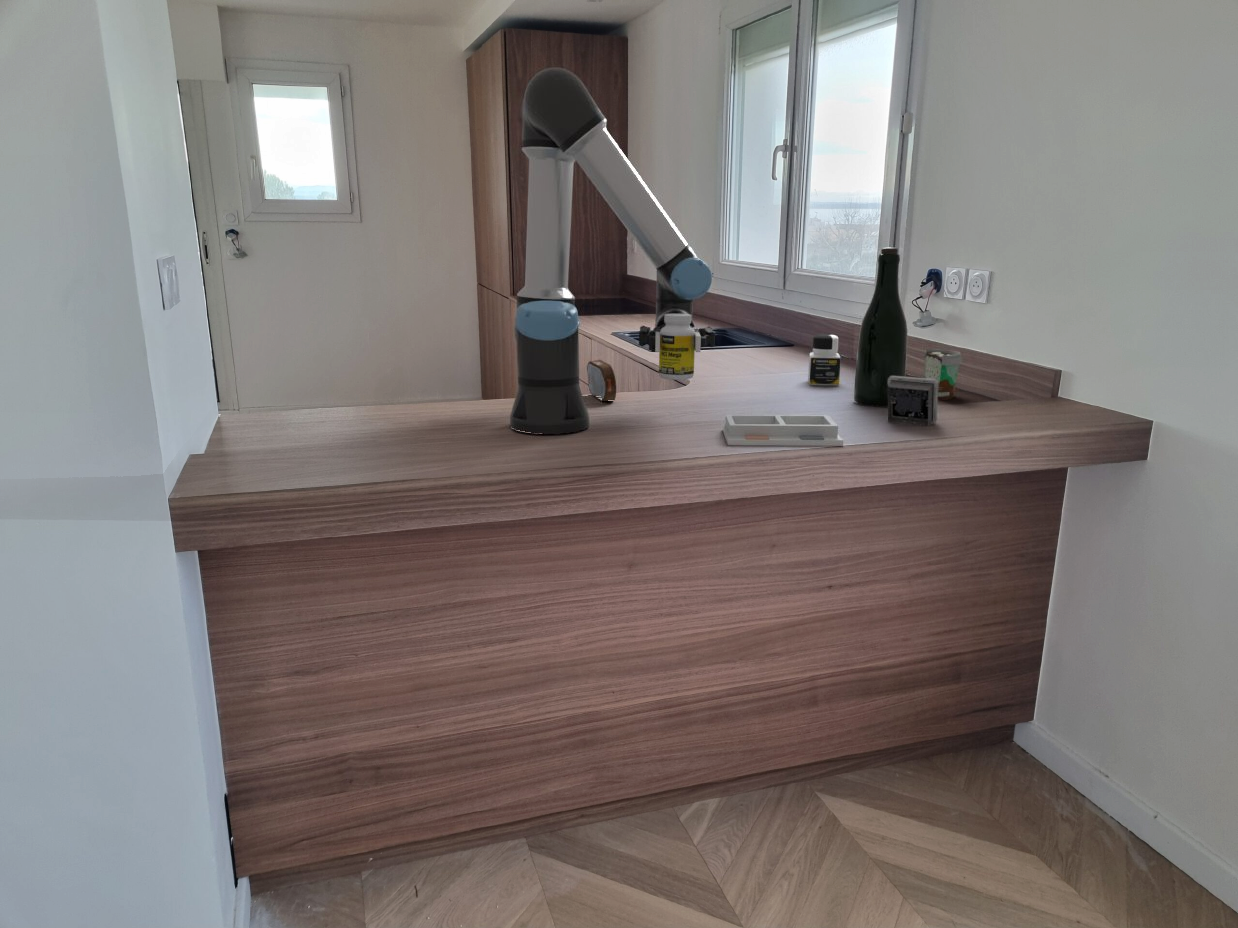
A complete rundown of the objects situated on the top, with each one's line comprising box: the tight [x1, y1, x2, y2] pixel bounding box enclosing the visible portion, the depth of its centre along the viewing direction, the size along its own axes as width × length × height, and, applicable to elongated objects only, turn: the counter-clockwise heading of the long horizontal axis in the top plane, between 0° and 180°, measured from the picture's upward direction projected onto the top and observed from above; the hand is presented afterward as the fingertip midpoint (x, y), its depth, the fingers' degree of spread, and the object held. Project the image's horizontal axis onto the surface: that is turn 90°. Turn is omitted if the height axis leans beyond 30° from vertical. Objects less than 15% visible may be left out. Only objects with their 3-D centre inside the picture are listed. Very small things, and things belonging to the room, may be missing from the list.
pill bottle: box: [658, 314, 696, 381], centre depth 149 cm, size 6×6×11 cm
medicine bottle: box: [807, 333, 842, 387], centre depth 210 cm, size 7×7×12 cm
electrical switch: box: [887, 376, 938, 427], centre depth 165 cm, size 9×5×9 cm, turn 57°
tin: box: [586, 359, 617, 401], centre depth 192 cm, size 15×3×8 cm, turn 18°
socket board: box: [722, 414, 844, 447], centre depth 154 cm, size 20×12×3 cm, turn 88°
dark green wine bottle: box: [853, 247, 908, 407], centre depth 182 cm, size 10×10×33 cm
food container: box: [923, 348, 963, 401], centre depth 193 cm, size 12×6×10 cm, turn 179°
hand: (678, 344), depth 144 cm, fingers closed on pill bottle, 6 cm apart
